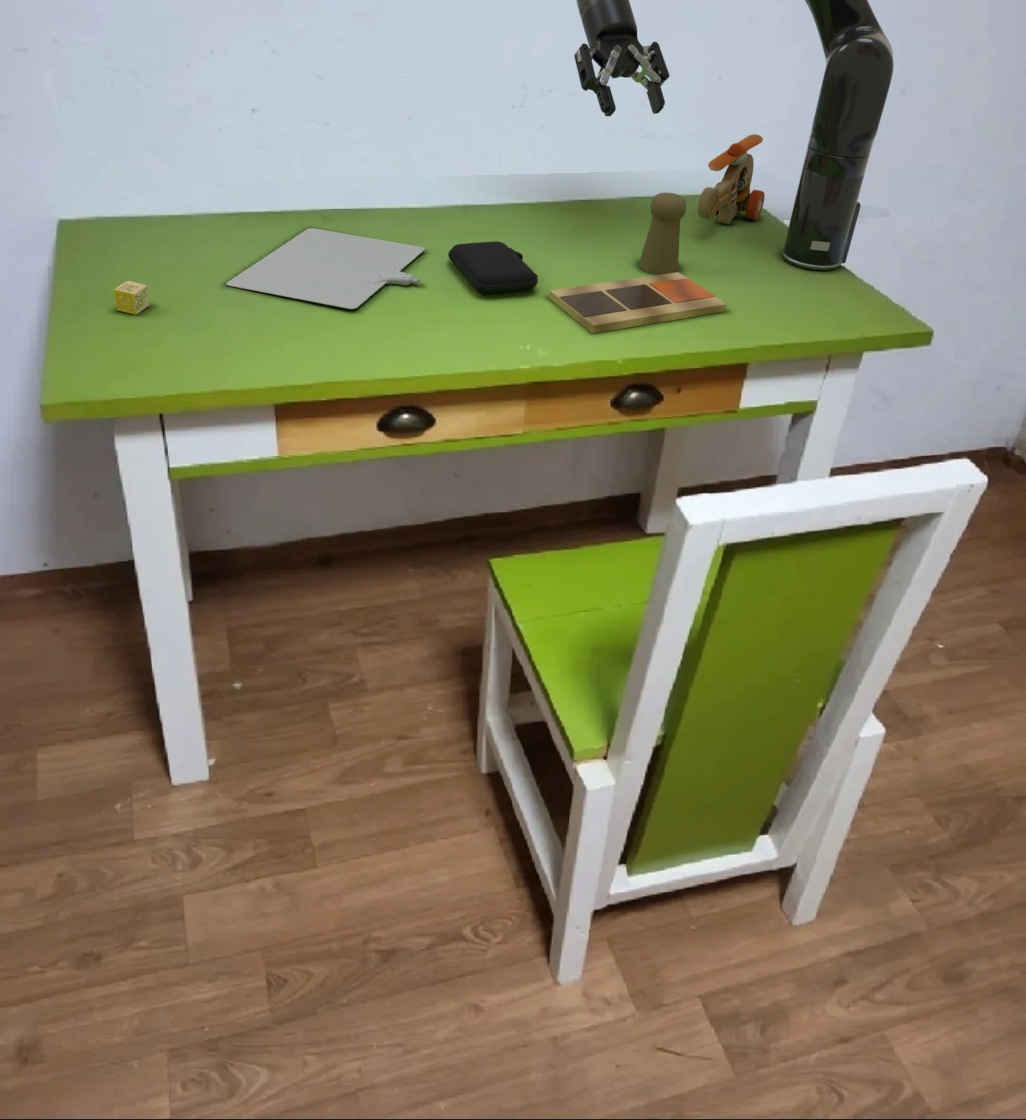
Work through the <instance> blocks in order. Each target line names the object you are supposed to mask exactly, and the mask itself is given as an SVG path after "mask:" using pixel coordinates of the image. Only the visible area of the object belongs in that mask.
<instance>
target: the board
mask: <svg viewBox="0 0 1026 1120" xmlns="http://www.w3.org/2000/svg"><path fill="white" fill-rule="evenodd" d="M548 299H549V300H550V301H552V302H553V303H554V304H555V305H556V306H558V307H559V308H560V309H562V310H563V311H564V312H565V313H566V314H568V315H569V316H570V317H571V318H573V319H574V320H575V321H576V322H577V323H579V324H580V325H581V326H582V327H584V328H585V329H586V330H587V331H589V332H590V333H591V334H598V333H603V332H609V331H615V330H621V329H622V330H623V329H627V328H634V327H640V326H646V325H652V324H658V323H664V322H665V323H666V322H671V321H677V320H682V319H689V318H695V317H702V316H707V315H714V314H719V313H725V312H726V307H727V303H726V302H724V301H722V300H721V299H719V298H718V297H717V296H716V295H714V294H713V293H712V292H710V291H708V290H707V289H705V288H704V287H702V286H700V285H699V284H697V283H696V282H695V281H693V280H692V279H690V278H689V277H686V276H685V275H683V274H682V273H681V272H679V271H677V272H676V273H669V274H662V275H657V274H654V275H648V276H642V277H635V278H627V279H621V280H612V281H605V282H600V283H592V284H586V285H585V284H584V285H578V286H572V287H564V288H556V289H550V290H549V296H548Z"/></svg>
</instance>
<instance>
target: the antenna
mask: <svg viewBox="0 0 1026 1120" xmlns="http://www.w3.org/2000/svg"><path fill="white" fill-rule="evenodd" d="M424 251H426V248H425V247H424V246H418V245H414V244H413V245H412V244H406V243H402V242H401V243H400V242H397V241H396V242H395V241H390V240H383V239H379V238H373V237H367V236H361V235H357V234H356V235H355V234H349V233H343V232H338V231H332V230H327V229H320V228H316V227H310V228H306V229H305V230H303V231H302V232H301V233H299V234H297V235H296V236H294V237H293V238H292V239H290V240H289V241H287V242H285V243H284V244H282V245H281V246H279V247H278V248H276V249H275V250H274V251H272V252H270V253H269V254H267V255H266V256H265V257H263V258H262V259H260V260H259V261H257V262H255V263H253V265H251V266H249V267H248V268H246V269H245V270H243V271H242V272H240V273H238V274H237V275H236V276H235V277H233V278H232V279H230V280H228V281H227V282H226V285H227V286H228V287H233V288H238V289H243V290H249V291H253V292H254V291H255V292H258V293H264V294H268V295H269V294H270V295H274V296H278V297H279V296H280V297H285V298H290V299H296V300H301V301H304V302H305V301H306V302H311V303H316V304H322V305H326V306H331V307H338V308H342V309H348V310H355V309H358V308H359V307H360V306H361V305H362V304H363V303H365V302H366V301H368V299H369V298H371V296H373V295H374V294H376V293H377V291H379V290H380V289H381V288H382V287H383V286H384V285H399V286H404V287H407V286H409V285H411V284H413V285H419V284H420V279H419V278H418V277H417V278H416V277H414V275H413V274H411V273H408V272H403V269H404V268H405V267H406V266H408V265H409V264H410V263H411V262H413V261H414V260H415V259H416V258H417V257H419V255H421V254H422V253H423V252H424Z"/></svg>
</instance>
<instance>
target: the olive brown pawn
mask: <svg viewBox="0 0 1026 1120" xmlns="http://www.w3.org/2000/svg"><path fill="white" fill-rule="evenodd" d="M686 210H687V203H686V200H685V197H683V196H681V195H679V194H677V193H675V192H674V193H673V192H660V193H657V194H655V195H654V197H652V198H651V201H650V213H651V215H652V217H651V221H650V224H649V228H648V231H647V235H646V238H645V241H644V245H643V249H642V252H641V256H640V259H639V263H638V267H639V268H640V269H641V270H642V271H644V272H646V273H649V274H653V275H662V274H669V273H676V272H679V262H680V261H679V259H680V234H681V233H680V232H681V219H682V218H683V217H684V216H685V213H686Z"/></svg>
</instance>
